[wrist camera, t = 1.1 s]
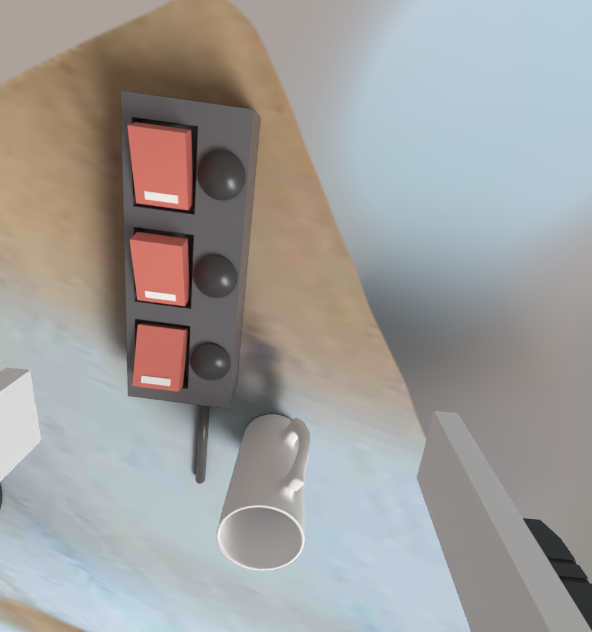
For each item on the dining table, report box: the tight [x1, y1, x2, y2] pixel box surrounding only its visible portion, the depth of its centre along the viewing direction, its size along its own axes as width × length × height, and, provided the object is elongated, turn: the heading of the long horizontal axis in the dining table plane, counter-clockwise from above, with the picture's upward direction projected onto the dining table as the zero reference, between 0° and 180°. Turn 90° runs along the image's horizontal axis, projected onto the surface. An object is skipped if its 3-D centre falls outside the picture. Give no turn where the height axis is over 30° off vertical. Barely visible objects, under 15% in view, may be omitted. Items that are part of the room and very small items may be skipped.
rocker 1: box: [127, 122, 193, 210], centre depth 28 cm, size 4×5×2 cm
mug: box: [217, 414, 310, 570], centre depth 35 cm, size 10×7×12 cm, turn 147°
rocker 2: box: [130, 232, 190, 306], centre depth 30 cm, size 4×5×2 cm
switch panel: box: [121, 91, 260, 484], centre depth 35 cm, size 9×36×5 cm, turn 173°
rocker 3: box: [132, 322, 189, 392], centre depth 33 cm, size 4×5×2 cm
